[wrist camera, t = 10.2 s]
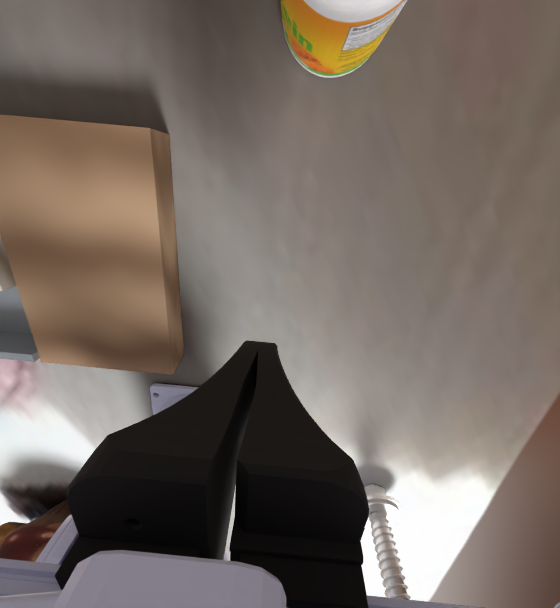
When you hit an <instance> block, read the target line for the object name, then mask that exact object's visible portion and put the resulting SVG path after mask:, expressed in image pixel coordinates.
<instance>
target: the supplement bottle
mask: <svg viewBox="0 0 560 608" xmlns="http://www.w3.org/2000/svg"><path fill="white" fill-rule="evenodd" d="M406 2H407V0H281V14H282V23H283V29H284V34H285V38H286V41H287V44H288V46H289V49H290V51H291V52H292V54H293V56H294V57H295V59H296V60H297V61H298V63H299V64H300V65H301V66H303V67H304V68H305V69H306V70H307V71H309V72H311V73H312V74H315V75H317V76H320V77H325V78H334V77H340V76H343V75H346V74H348V73H351V72H353V71H354V70H356V69H357V68H359V67H360V66H361V65H362V64H364V63H365V62H366V61H367V60H368V58H369V57H370V56H371V55H372V54H373V52H374V51H375V49H376V48H377V47H378V45H379V44H380V42H381V41H382V39H383V38H384V36H385V35H386V33H387V31H388V30H389V28H390V27H391V25H392V24H393V22H394V21H395V19H396V17H397V16H398V14H399V13H400V11H401V10H402V8H403V6H404V5H405V3H406Z"/></svg>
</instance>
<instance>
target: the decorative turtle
mask: <svg viewBox="0 0 560 608" xmlns="http://www.w3.org/2000/svg"><path fill="white" fill-rule="evenodd" d="M70 515H71V512H70V510H69V507H68V502H67V500H65V501H63V502H61V503H60V504H58V505H56V506H55V507H53V508H52V509H51V510H49V511H48V512H47V513H45V514H44V515H43V516H41V517H40V518H38V519H36V520H33V521H31V522H30V523H28V524H27V523H17V522H8V523H5V524H3V525H1V526H0V558H2V559H12V560H22V561H31V562H35V561H36V560H37V558H38V557H39V555H40V554H41V552H42V551H43V549H44V548H45V546H46V545H47V543H48V542H49V541H50V539H51V538H52V536H53V535H54V534H55V532H56V531H57V530H58V528H59V527H60V526H61V524H62V523H63V522H64V521H65V520H66V518H67V517H68V516H70Z"/></svg>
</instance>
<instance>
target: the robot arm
mask: <svg viewBox="0 0 560 608" xmlns="http://www.w3.org/2000/svg"><path fill="white" fill-rule="evenodd" d="M156 393H158V394H156ZM150 394H151V402H152V409H153V416H151V417H149V418H147V419H145V420H143V421H140V422H138V423H136V424H133V425H131V426H129V427H126V428H124V429H122V430H119V431H117V432H114V433H112V434H109V435H108V436H107V437H106V438H105V439H104V440H103V442H102V443H101V444H100V445H99V446H98V447H97V448H96V450H95V451H94V452H93V454H92V455H91V456H90V457H89V459H88V460H87V462H86V463H85V464H84V466H83V467H82V468H81V470H80V471H79V473H78V474H77V475H76V477H75V478H74V479H73V481H72V482H71V484H70V485H69V487H68V490H67V494H66V496H67V502H68V507H69V510H70V512H71V515H70V516H68V517H67V518H66V520H65V521H64V522H63V523H62V524H61V526H60V527H59V528H58V530H57V531H56V532H55V534H54V535H53V536H52V538H51V539H50V541H49V542H48V543H47V545H46V546H45V548H44V549H43V551H42V552H41V554H40V555H39V557H38V558H37V560H36V561H35V562H31V561H22V560H12V559H2V558H0V608H484V607H474V606H464V605H455V604H444V603H435V602H425V601H415V600H405V599H396V598H386V597H376V596H366V590H365V584H364V579H363V573H362V567H361V565H362V564H363V553H362V548H361V542H360V540H361V537H362V535H363V532H364V529H365V526H366V523H367V520H368V517H369V505H368V499H367V495H366V492H365V489H364V486H363V483H362V480H361V478H360V475H359V472H358V470H357V468H356V465H355V463H354V461H353V459H352V458H351V457H350V456H348V455H347V454H346V453H345V452H344V451H343V450H342V449H341V448H340V447H338V446H337V445H336V444H335V443H334V442H333V441H332V440H331V439H330V438H329V437H328V436H327V435H326V434H325V433H324V432H323V431H322V430H321V428H320V427H319V426H318V425H317V423H316V422H315V421H314V420H313V419H312V417H311V416H310V415H309V414H308V412H307V411H306V409H305V408H304V407H303V405H302V404H301V402H300V401H299V399H298V397H297V396H296V394H295V392H294V391H293V389H292V387H291V385H290V383H289V381H288V379H287V377H286V375H285V372H284V370H283V367H282V365H281V362H280V359H279V355H278V350H277V345H276V344H275V343H266V342H256V341H245V342H244V343H243V344H242V345H241V347H240V348H239V349H238V350H237V352H236V353H235V354H234V355H233V356H232V357H231V358H230V359H229V360H228V361H227V362H226V364H225V365H224V366H223V367H222V368H221V369H220V370H218V371H217V372H216V373H215V374H214V375H213V376H212V377H211V378H210V379H208V380H207V381H206V382H205V383H204V384H202V385H201V386H200V387H189V386H179V385H169V384H158V383H154V384H153V385H152V386H151V387H150ZM235 485H236V497H235V519H234V525H233V531H232V536H231V542H230V551H231V556H230V561H228V560H227V556H226V554H225V547H226V540H227V534H228V528H229V522H230V515H231V509H232V503H233V497H234V491H235ZM554 608H560V603H558V604H557V605H556V606H555V607H554Z"/></svg>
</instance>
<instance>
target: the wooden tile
mask: <svg viewBox="0 0 560 608" xmlns="http://www.w3.org/2000/svg"><path fill="white" fill-rule="evenodd" d="M14 286H17V285H16V282H15V279H14V276H13V273H12V270H11V267H10V263H9V260H8V257H7V254H6V251H5V248H4V245H3V242H2V239H1V235H0V291H4V290H6V289H9V288H11V287H14Z"/></svg>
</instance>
